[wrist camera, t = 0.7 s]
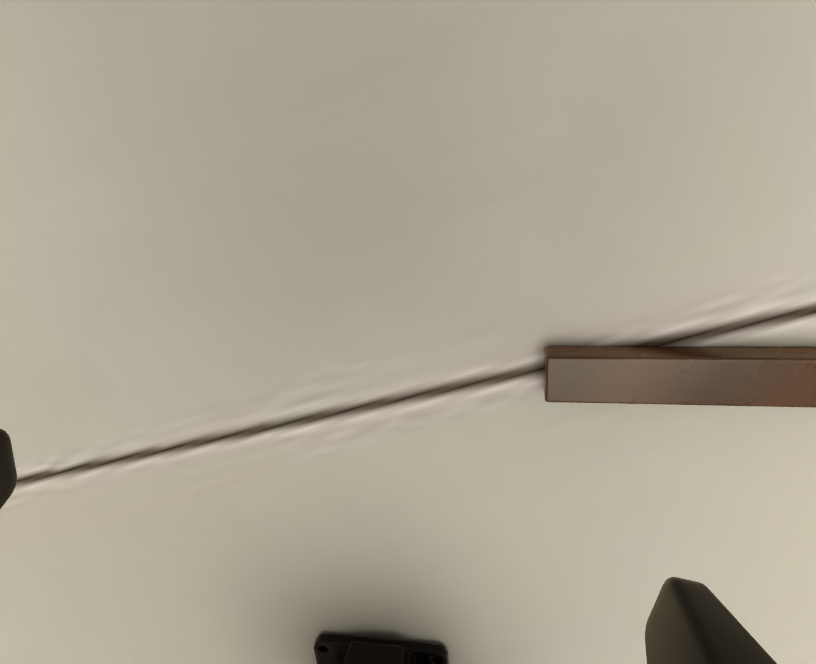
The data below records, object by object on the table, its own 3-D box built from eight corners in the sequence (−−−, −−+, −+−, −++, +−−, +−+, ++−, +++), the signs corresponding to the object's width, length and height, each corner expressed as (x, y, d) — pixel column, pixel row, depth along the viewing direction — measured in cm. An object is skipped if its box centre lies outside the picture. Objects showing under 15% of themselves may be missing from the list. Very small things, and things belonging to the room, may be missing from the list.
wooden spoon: (542, 435, 23) (544, 454, 21) (546, 292, 20) (547, 305, 19) (1059, 451, 20) (1090, 474, 19) (1135, 285, 17) (1176, 301, 16)
